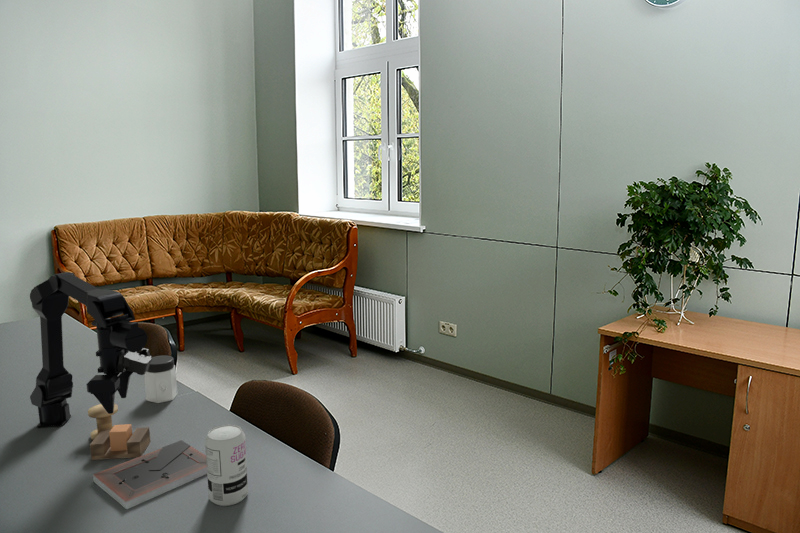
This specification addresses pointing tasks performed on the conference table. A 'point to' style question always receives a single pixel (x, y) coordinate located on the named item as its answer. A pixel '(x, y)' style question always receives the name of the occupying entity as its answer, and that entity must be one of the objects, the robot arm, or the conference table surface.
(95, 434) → the spool
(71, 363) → the conference table surface
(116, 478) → the picture frame
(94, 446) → the notch board
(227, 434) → the supplement can
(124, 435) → the light brown wooden block
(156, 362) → the jar
